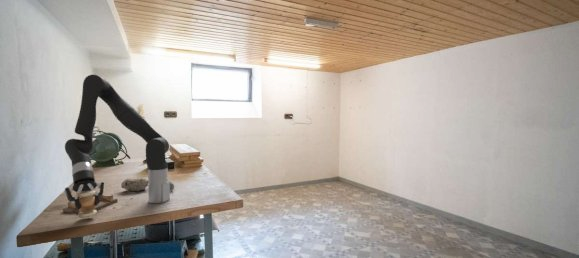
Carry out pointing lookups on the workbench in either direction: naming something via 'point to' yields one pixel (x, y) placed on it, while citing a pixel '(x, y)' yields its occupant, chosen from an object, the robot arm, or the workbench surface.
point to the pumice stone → (134, 184)
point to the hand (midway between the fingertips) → (87, 206)
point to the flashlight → (171, 186)
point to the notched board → (103, 202)
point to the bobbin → (87, 204)
